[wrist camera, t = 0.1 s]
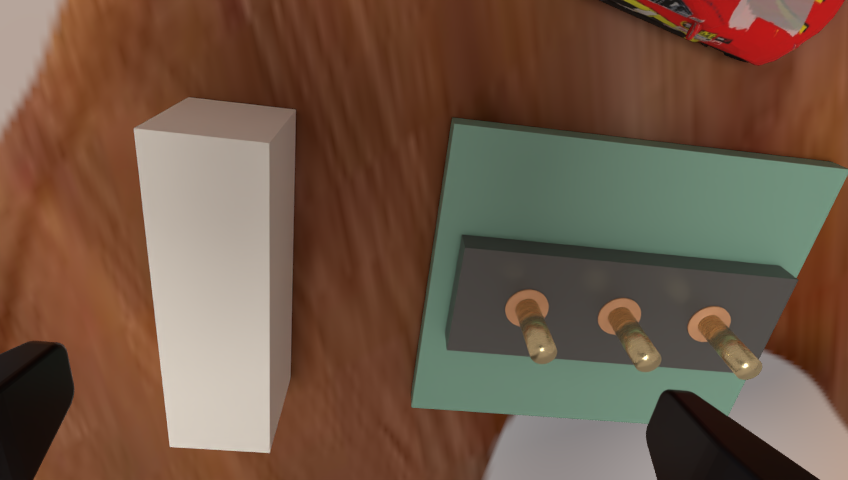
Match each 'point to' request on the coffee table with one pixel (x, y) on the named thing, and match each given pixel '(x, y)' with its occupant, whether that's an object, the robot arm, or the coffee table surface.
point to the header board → (607, 270)
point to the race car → (738, 23)
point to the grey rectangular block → (221, 266)
